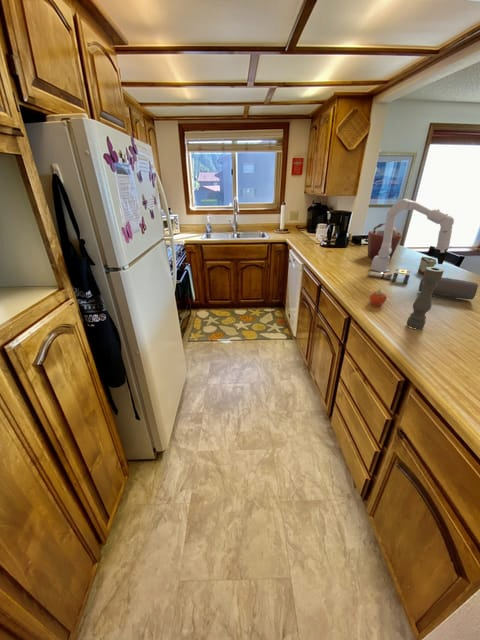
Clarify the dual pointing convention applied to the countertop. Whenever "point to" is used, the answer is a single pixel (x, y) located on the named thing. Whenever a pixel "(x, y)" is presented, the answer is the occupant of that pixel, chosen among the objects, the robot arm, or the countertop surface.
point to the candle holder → (424, 297)
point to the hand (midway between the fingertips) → (440, 262)
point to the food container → (426, 264)
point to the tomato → (377, 298)
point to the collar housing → (401, 273)
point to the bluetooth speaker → (453, 289)
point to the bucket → (381, 241)
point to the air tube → (380, 275)
